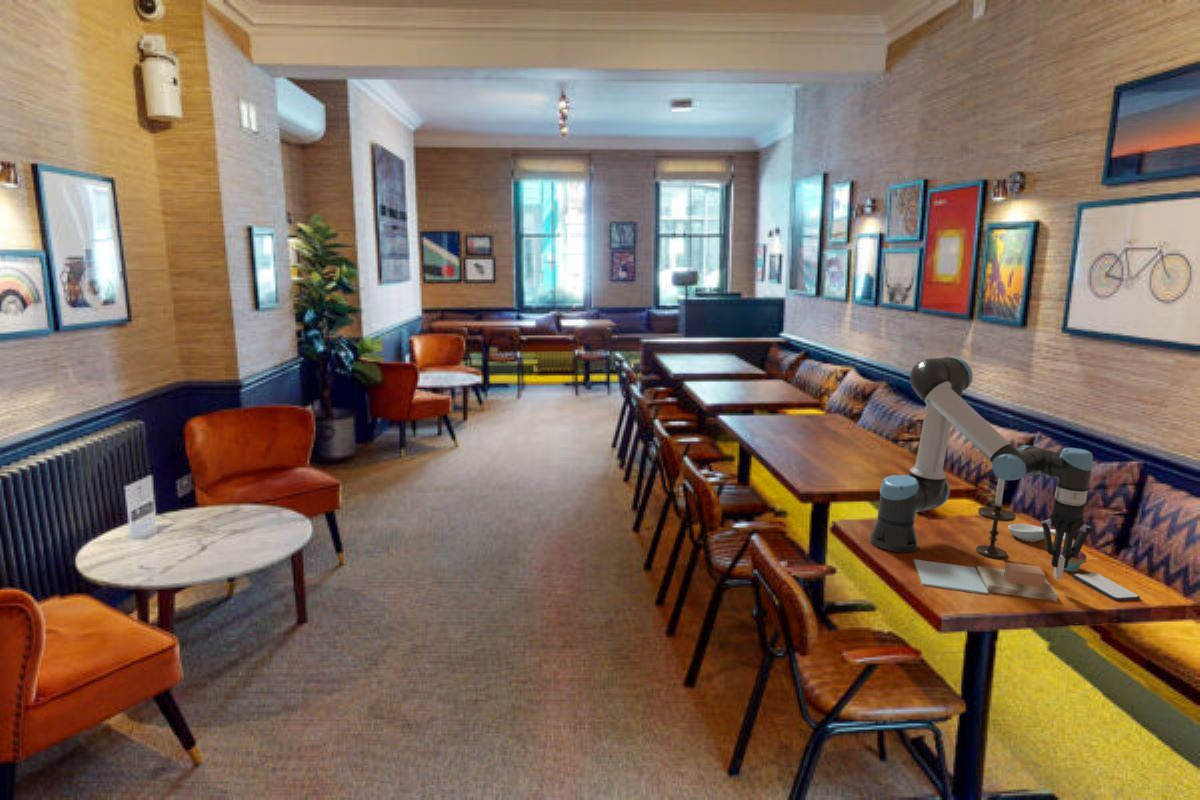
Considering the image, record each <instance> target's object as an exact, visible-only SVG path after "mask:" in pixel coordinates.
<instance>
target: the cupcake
mask: <svg viewBox="0 0 1200 800" xmlns="http://www.w3.org/2000/svg"><path fill="white" fill-rule="evenodd" d="M1063 547H1064V545H1063V546H1061V552H1060V555H1062V556H1063V554H1062V553H1063ZM1086 562H1087V555H1086V553H1084V552H1083V551H1082V550H1080V552H1079V554H1078V556H1077V557H1076V558H1074V557H1071V559H1070V560H1069V562H1068V567H1067V568H1064V569H1063V571H1066V572H1076V573H1077V572H1078V570H1079V569H1080V567H1081V565H1083V564H1084V563H1086Z"/></svg>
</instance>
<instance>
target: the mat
mask: <svg viewBox="0 0 1200 800" xmlns="http://www.w3.org/2000/svg"><path fill="white" fill-rule="evenodd" d="M913 563H914V565H915V568H916V571H917V574H918V578H919V580H920V582H921V586H927V587H934V588H941V589H947V590H954V591H961V592H967V593H974V594H975V593H976V594H982V595H989V592H988V591H987V589H986V587H985V585H984V583H983V582H982V580H981V578H980V576H979V574H978V572H977V569H976V567H974V566H968V565H959V564H953V563H942V562H938V561H937V562H936V561H928V560H921V559H913Z"/></svg>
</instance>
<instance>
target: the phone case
mask: <svg viewBox="0 0 1200 800" xmlns="http://www.w3.org/2000/svg"><path fill="white" fill-rule="evenodd" d="M1072 578H1073V579H1074V580H1076V581H1077V582H1079V583H1081V584H1083V585H1084V586H1086V587H1088V588H1090V589H1092V590H1094V591H1096V592H1098V593H1099V594H1101V595H1104V596H1105V597H1107V598H1109V599H1110V600H1112V601H1115V602H1131V601H1140V598H1141V596H1140V595H1139V594H1137V593H1135V592H1133V591H1131V590H1130V589H1127V588H1126V587H1124V586H1122V585H1120V584H1118V583H1116V582H1115V581H1113V580H1111V579H1109V578H1108V577H1105V576H1104V575H1102V574H1100V573H1097V572H1093V571H1092V572H1080V573H1079V572H1078V573H1077V572H1076V573H1073V577H1072Z"/></svg>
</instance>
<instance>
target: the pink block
mask: <svg viewBox="0 0 1200 800" xmlns="http://www.w3.org/2000/svg"><path fill="white" fill-rule="evenodd" d="M1004 570H1005V572H1004V575H1005V577H1006V578H1007V580H1008V582H1009V583H1014V584H1021V585H1029V586H1036V587H1043V588H1044V582H1045V578H1046V577H1047V574H1045V572H1044V570H1043V569H1042V568H1041V567H1040V566H1038V565H1030V564H1022V563H1015V562H1014V563H1013V562H1008V561H1007V562H1005V565H1004Z"/></svg>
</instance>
